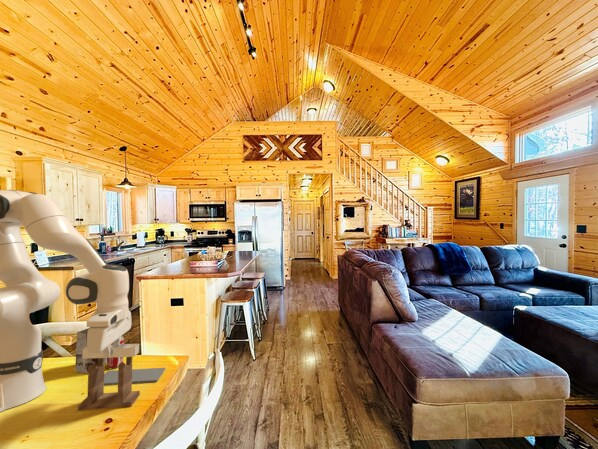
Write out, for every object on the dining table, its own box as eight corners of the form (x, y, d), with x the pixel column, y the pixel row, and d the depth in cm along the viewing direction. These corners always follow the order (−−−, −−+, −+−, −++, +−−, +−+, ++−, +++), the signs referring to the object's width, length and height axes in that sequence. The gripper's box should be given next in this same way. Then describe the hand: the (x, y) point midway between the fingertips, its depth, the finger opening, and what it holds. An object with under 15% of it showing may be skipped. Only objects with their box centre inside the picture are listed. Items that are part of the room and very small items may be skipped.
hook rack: (77, 410, 84) (79, 366, 85) (89, 398, 90) (91, 357, 90) (131, 406, 87) (132, 364, 87) (139, 394, 93) (140, 355, 93)
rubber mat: (93, 386, 97) (93, 383, 97) (107, 372, 106) (107, 370, 106) (156, 382, 100) (156, 379, 100) (165, 369, 109) (165, 367, 109)
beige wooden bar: (82, 358, 86) (82, 349, 86) (88, 354, 89) (88, 345, 89) (134, 356, 88) (135, 347, 89) (138, 352, 91) (139, 343, 91)
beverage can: (103, 369, 108) (104, 340, 108) (111, 362, 114) (112, 335, 114) (118, 369, 109) (119, 340, 109) (126, 362, 115) (126, 334, 115)
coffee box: (87, 373, 105) (88, 333, 105) (74, 371, 106) (75, 332, 107) (108, 362, 114) (109, 325, 114) (96, 360, 115) (97, 324, 116)
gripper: (118, 304, 99) (117, 340, 99) (82, 323, 79) (81, 370, 78) (136, 303, 100) (135, 340, 100) (105, 323, 79) (104, 368, 79)
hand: (111, 353), depth 89 cm, fingers closed on beige wooden bar, 3 cm apart
